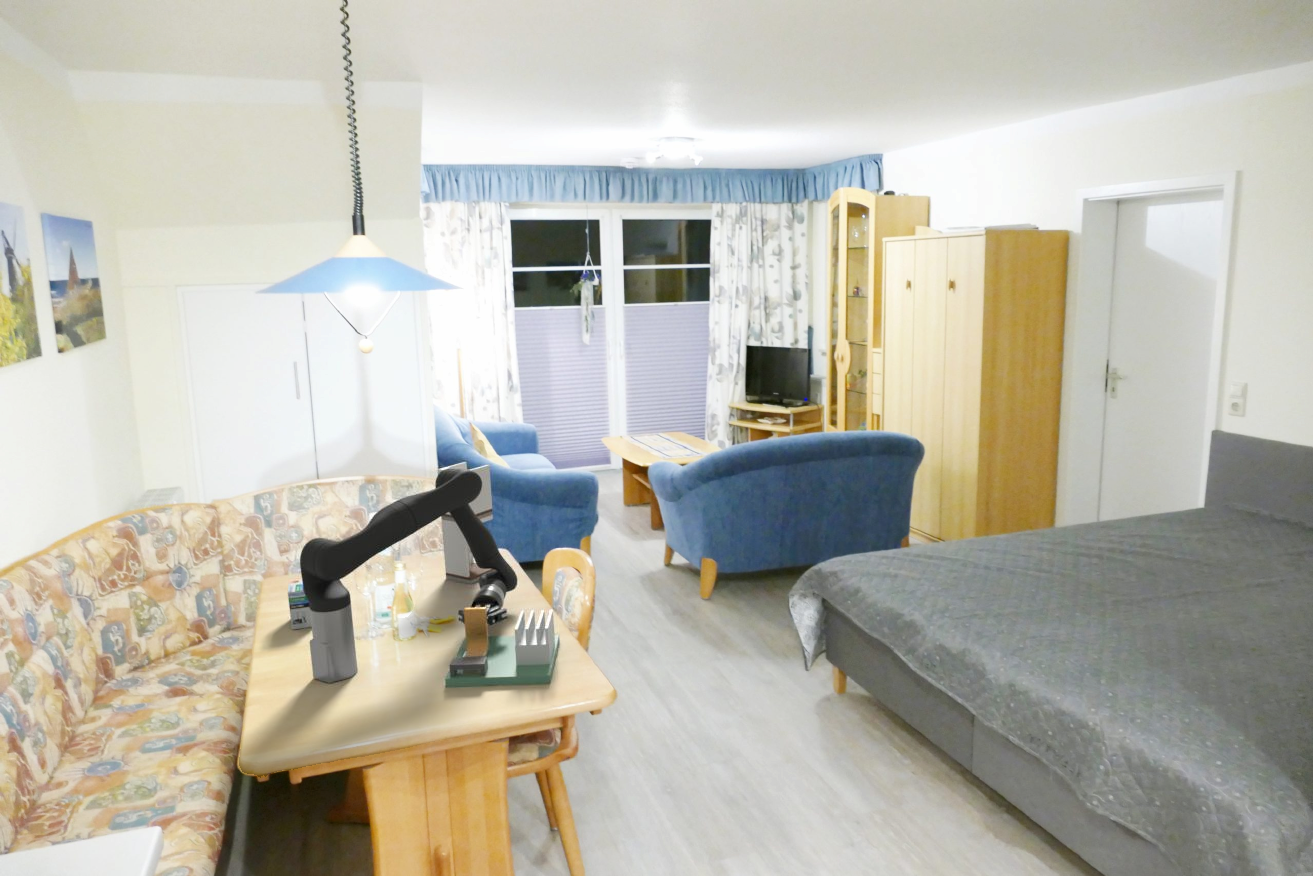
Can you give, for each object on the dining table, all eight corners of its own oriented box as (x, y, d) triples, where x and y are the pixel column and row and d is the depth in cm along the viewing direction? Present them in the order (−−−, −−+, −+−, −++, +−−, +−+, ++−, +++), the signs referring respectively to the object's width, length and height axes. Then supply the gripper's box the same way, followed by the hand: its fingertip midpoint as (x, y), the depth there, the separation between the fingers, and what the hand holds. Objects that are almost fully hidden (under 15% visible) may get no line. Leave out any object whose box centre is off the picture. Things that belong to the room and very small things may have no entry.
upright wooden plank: (467, 650, 224) (464, 607, 222) (489, 649, 224) (486, 607, 222) (463, 660, 218) (459, 617, 216) (484, 659, 218) (481, 616, 216)
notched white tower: (470, 584, 278) (462, 472, 272) (446, 578, 284) (437, 469, 278) (496, 573, 288) (489, 465, 281) (472, 568, 293) (464, 462, 287)
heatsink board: (465, 644, 233) (462, 603, 231) (559, 641, 233) (557, 600, 231) (445, 687, 210) (442, 642, 208) (550, 683, 210) (547, 638, 208)
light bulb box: (317, 626, 248) (313, 589, 247) (291, 630, 246) (287, 592, 244) (318, 613, 258) (314, 577, 256) (292, 617, 256) (288, 580, 254)
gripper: (462, 589, 239) (448, 614, 222) (512, 588, 239) (502, 612, 222) (464, 617, 241) (450, 643, 224) (514, 615, 241) (504, 641, 224)
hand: (476, 628), depth 223 cm, fingers closed
